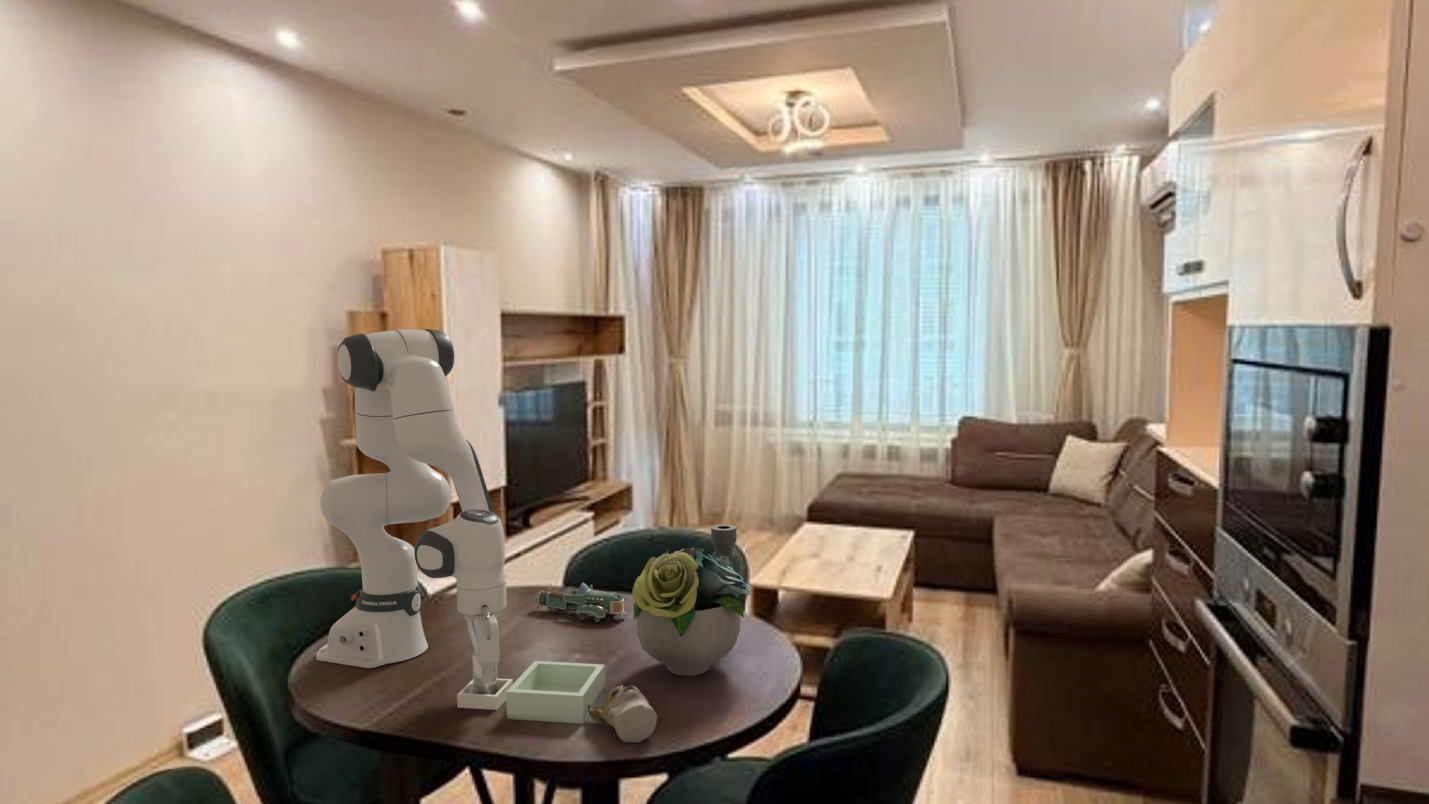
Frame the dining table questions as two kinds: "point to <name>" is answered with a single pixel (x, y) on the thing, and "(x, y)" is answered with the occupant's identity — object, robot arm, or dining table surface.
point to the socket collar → (483, 696)
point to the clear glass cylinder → (478, 685)
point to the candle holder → (724, 541)
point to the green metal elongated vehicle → (583, 602)
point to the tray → (556, 692)
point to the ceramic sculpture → (626, 713)
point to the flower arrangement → (688, 609)
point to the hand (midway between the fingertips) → (484, 671)
